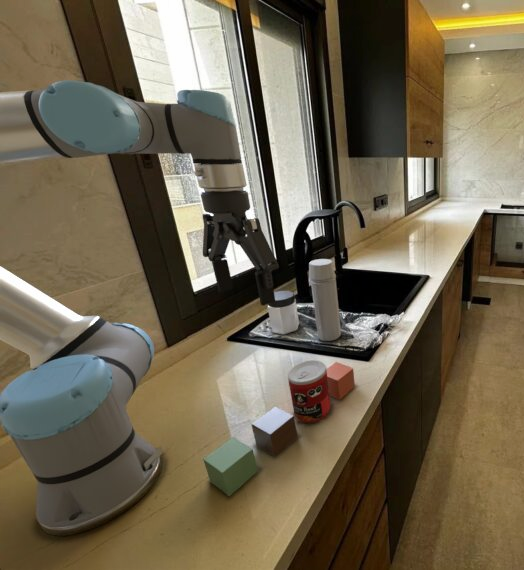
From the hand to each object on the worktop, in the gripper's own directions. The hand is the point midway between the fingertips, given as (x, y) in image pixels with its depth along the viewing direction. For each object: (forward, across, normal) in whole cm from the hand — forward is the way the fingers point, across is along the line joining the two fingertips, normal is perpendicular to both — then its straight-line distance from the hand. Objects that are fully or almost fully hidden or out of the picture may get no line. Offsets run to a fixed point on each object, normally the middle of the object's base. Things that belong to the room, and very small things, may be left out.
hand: (246, 296), depth 67 cm
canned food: (+27, +12, +2) cm, 30 cm away
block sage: (+27, +12, -16) cm, 33 cm away
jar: (+27, -25, +26) cm, 45 cm away
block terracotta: (+27, +12, +11) cm, 31 cm away
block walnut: (+27, +12, -7) cm, 30 cm away
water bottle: (+27, -8, +28) cm, 40 cm away
